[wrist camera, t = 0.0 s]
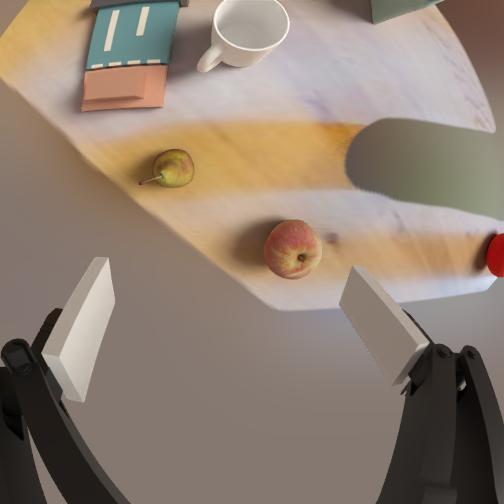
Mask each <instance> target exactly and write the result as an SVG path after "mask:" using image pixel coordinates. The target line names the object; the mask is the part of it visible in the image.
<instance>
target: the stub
mask: <svg viewBox="0 0 504 504" xmlns="http://www.w3.org/2000/svg"><path fill="white" fill-rule="evenodd" d="M167 71H168V67H167V66H166V65H158V66H135V67H121V68H111V69H103V70H95V71H88V72H86V73H85V80H84V87H83V96H82V107H81V111H94V110H106V109H120V108H144V107H163V102H164V93H165V85H166V78H167Z"/></svg>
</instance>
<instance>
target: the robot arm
mask: <svg viewBox="0 0 504 504" xmlns="http://www.w3.org/2000/svg"><path fill="white" fill-rule="evenodd" d="M108 259H109V258H104V257H95V258H94V260H93V261H92V263H91V264H90V266H89V267H88V269H87V270H86V272H85V274H84V275H83V277H82V279H81V280H80V282H79V283H78V285H77V287H76V288H75V290H74V292H73V294H72V295H71V297H70V299H69V300H68V302H67V304H66V306H65V307H64V309H59V308H55V309H54V310H53V311H52V312H51V313H50V314H49V315H48V316H47V318H46V320H45V321H44V324H43V325H42V327H41V328H40V332H38V334H37V336H36V338H35V340H34V342H33V344H32V346H31V348H30V347H29V344H28V343H27V341H25V340H23V339H13V340H11V341H9V342H7V343H6V344H5V346H4V347H3V349H2V351H1V359H2V361H3V362H4V364H5V366H6V367H0V504H47V502H46V499H45V496H44V493H43V490H42V487H41V484H40V481H39V477H38V474H37V470H36V466H35V463H34V458H33V454H32V449H31V445H30V439H29V434H28V429H29V431H30V434H31V436H32V438H33V441H34V443H35V445H36V447H37V450H38V452H39V454H40V456H41V458H42V460H43V462H44V464H45V466H46V468H47V470H48V472H49V473H50V475H51V477H52V479H53V481H54V482H55V484H56V485H57V487H58V489H59V491H60V492H61V494H62V496H63V497H64V499H65V500H66V502H67V503H68V504H130V502H129V501H128V500H127V499H126V498H125V497H124V495H123V494H122V493H121V492H120V491H119V489H118V488H117V487H116V486H115V485H114V483H113V482H112V481H111V479H110V478H109V477H108V475H107V474H106V473H105V471H104V470H103V468H102V467H101V466H100V464H99V463H98V461H97V460H96V459H95V457H94V456H93V454H92V452H91V451H90V449H89V448H88V446H87V445H86V443H85V442H84V440H83V438H82V437H81V435H80V433H79V432H78V430H77V428H76V426H75V425H74V423H73V421H72V419H71V418H70V415H69V414H68V412H67V410H66V408H65V406H64V404H63V402H62V401H61V395H62V392H64V394H65V396H66V397H67V398H68V399H69V400H74V401H79V402H84V401H85V397H86V393H87V389H88V385H89V381H90V378H91V374H92V371H93V367H94V364H95V360H96V357H97V353H98V351H99V347H100V344H101V341H102V338H103V335H104V332H105V329H106V327H107V324H108V321H109V318H110V315H111V313H112V310H113V307H114V304H115V298H114V291H113V285H112V279H111V273H110V266H109V260H108ZM339 305H340V307H341V308H342V310H343V311H344V313H345V314H346V316H347V318H348V319H349V321H350V322H351V323H352V325H353V327H354V328H355V330H356V332H357V333H358V335H359V336H360V338H361V339H362V341H363V343H364V344H365V346H366V347H367V349H368V350H369V352H370V354H371V355H372V357H373V359H374V360H375V362H376V363H377V365H378V367H379V368H380V370H381V372H382V373H383V375H384V377H385V378H386V380H387V382H388V383H389V385H390V386H394V385H398V384H401V383H402V382H403V381H404V380H405V378H406V377H407V375H409V377H410V378H411V380H410V381H409V382H408V384H407V385H406V386H405V388H404V389H403V390H402V392H401V395H402V394H403V393H404V392H405V391H406V390H407V392H406V395H405V396H406V398H405V404H404V409H403V414H402V420H401V424H400V429H399V433H398V437H397V441H396V445H395V449H394V453H393V456H392V459H391V463H390V466H389V470H388V473H387V476H386V479H385V482H384V485H383V488H382V491H381V493H380V496H379V498H378V500H377V502H376V504H504V424H503V420H502V416H501V412H500V409H499V405H498V402H497V399H496V396H495V393H494V390H493V387H492V384H491V381H490V378H489V376H488V373H487V370H486V368H485V365H484V363H483V360H482V358H481V355H480V354H479V352H478V351H477V350H476V348H474V347H472V346H468V345H466V346H464V347H463V349H462V350H461V352H460V353H453V352H452V351H451V349H450V348H448V347H447V346H445V345H443V344H434V342H433V341H432V340H431V339H430V337H429V336H428V335H427V334H426V333H425V331H424V330H423V329H422V328H421V327H420V325H419V324H418V323H417V322H415V320H414V319H413V317H412V316H411V315H410V314H409V313H407V312H406V311H405V310H403V309H401V308H400V306H398V304H397V303H396V302H395V301H394V300H393V299H392V297H391V296H390V295H389V294H388V293H387V292H386V291H385V290H384V288H383V287H382V286H381V285H380V284H379V283H378V282H377V281H376V280H375V279H374V277H373V276H372V275H371V274H370V273H369V272H368V271H367V270H366V269H365V268H364V267H363V266H352V267H351V270H350V274H349V277H348V280H347V283H346V286H345V289H344V291H343V294H342V297H341V300H340V303H339ZM464 382H466V386H465V388H464V389H463V390H461V388H460V386H461V385H462V384H463V383H464ZM27 426H28V429H27Z"/></svg>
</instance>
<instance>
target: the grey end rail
mask: <svg viewBox="0 0 504 504" xmlns="http://www.w3.org/2000/svg"><path fill="white" fill-rule="evenodd" d="M153 2H180V4H181V7H188V4H189V0H92V1H91V4H90V8H89V9H90V10H92V11H93V12H94V13H95V14H96V15H98V12H99V9H104V8H110V7H116V6H123V5H131V4H141V3H153Z"/></svg>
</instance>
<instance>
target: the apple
mask: <svg viewBox="0 0 504 504" xmlns="http://www.w3.org/2000/svg"><path fill="white" fill-rule="evenodd" d="M263 255H264V260H265V262H266V264H267V266H268V267H269V269H270V270H271V271H272V272H274V273H275V274H276V275H278V276H280V277H282V278H286V279H299V278H302V277H304V276H306V275H308V274H309V273H311V272H312V271H313V270H314V268H315V267H316V266H317V264H318V263H319V261H320V259H321V255H322V246H321V241H320V238H319V236H318V235H317V233H316V232H315V231H314V229H313V228H312V227H311V226H309V225H308V224H307V223H305V222H303V221H301V220H287V221H284V222H282V223H280V224H279V225H277V226H276V227H275V228H274V229H273V230H272V231H271V233H270V235H269V236H268V238H267V240H266V242H265V245H264V251H263Z"/></svg>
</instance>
